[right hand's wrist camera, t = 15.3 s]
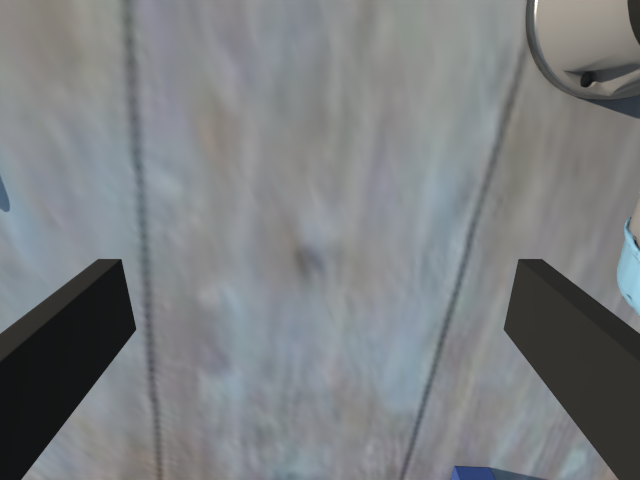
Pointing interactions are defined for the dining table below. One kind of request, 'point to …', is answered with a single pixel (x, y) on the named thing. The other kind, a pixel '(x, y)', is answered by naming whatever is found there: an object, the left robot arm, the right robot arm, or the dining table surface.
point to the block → (472, 473)
